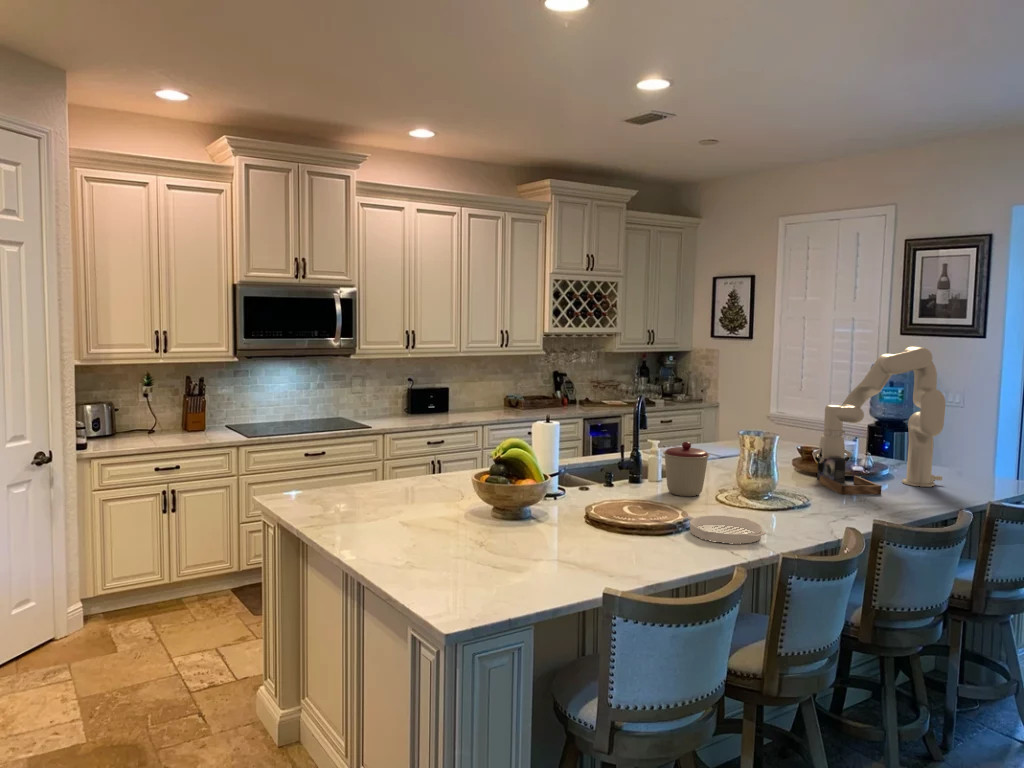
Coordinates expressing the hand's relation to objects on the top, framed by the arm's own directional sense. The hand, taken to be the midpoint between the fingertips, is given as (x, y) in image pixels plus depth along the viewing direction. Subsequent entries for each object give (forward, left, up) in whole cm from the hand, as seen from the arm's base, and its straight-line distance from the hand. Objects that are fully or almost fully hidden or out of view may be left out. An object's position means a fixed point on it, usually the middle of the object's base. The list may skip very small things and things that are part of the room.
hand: (830, 471), depth 341 cm
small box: (0, 0, -4) cm, 4 cm away
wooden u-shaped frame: (0, +17, -4) cm, 17 cm away
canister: (+73, +27, -4) cm, 78 cm away
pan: (+81, +79, -4) cm, 113 cm away
